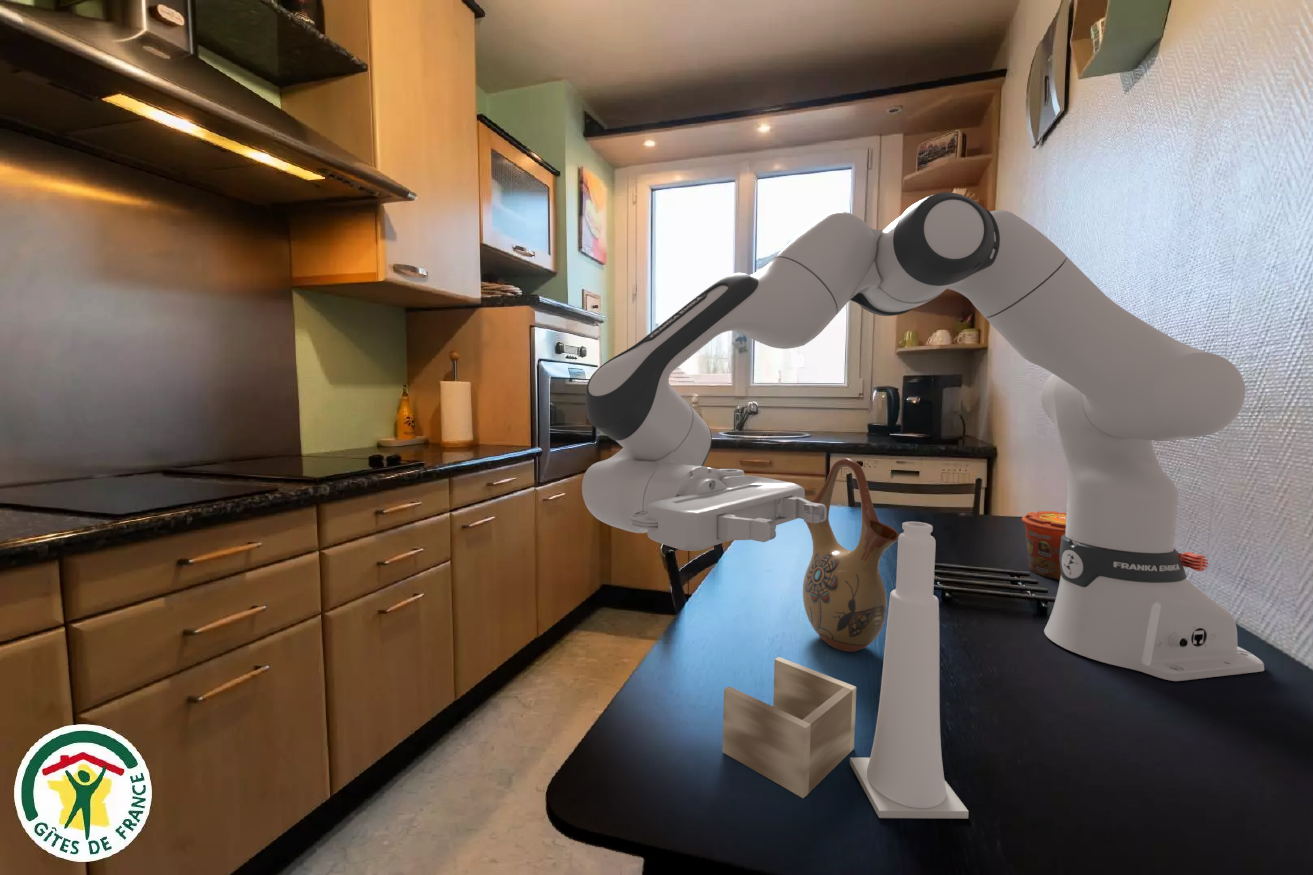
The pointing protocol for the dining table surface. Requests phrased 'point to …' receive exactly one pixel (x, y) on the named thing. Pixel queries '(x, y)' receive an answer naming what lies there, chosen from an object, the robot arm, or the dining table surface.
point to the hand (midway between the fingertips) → (799, 522)
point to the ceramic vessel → (847, 573)
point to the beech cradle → (792, 727)
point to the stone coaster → (894, 810)
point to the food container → (1044, 542)
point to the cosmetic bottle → (910, 682)
